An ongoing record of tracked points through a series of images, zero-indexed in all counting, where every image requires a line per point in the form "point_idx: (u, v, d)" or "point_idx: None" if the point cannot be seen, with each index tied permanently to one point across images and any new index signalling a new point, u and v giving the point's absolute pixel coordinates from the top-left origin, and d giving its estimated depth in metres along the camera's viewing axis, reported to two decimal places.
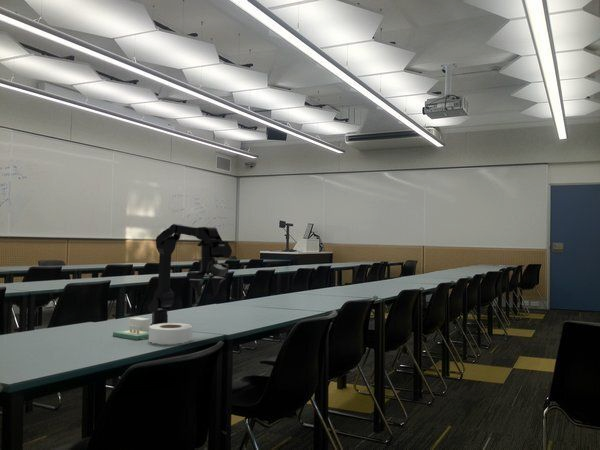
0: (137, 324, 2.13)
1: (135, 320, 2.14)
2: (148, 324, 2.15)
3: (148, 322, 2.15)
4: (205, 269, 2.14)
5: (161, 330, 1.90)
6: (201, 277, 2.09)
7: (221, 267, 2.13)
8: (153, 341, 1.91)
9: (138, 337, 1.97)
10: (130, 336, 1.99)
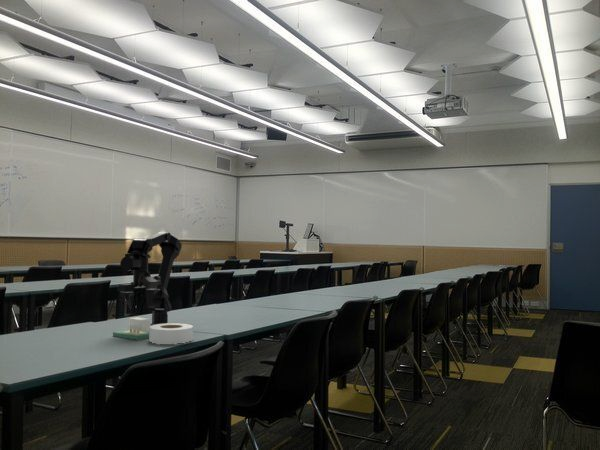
0: (137, 324, 2.13)
1: (135, 320, 2.14)
2: (148, 324, 2.15)
3: (148, 322, 2.15)
4: (137, 281, 2.14)
5: (162, 330, 1.89)
6: (131, 289, 2.09)
7: (153, 279, 2.13)
8: (154, 341, 1.90)
9: (138, 337, 1.97)
10: (130, 336, 1.99)
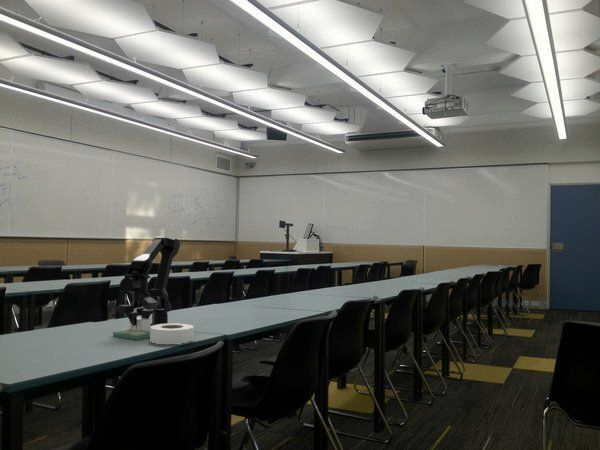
0: (137, 324, 2.13)
1: None
2: (148, 324, 2.15)
3: (148, 322, 2.15)
4: (136, 302, 2.14)
5: (162, 330, 1.89)
6: (131, 311, 2.09)
7: (152, 300, 2.13)
8: (154, 341, 1.90)
9: (138, 337, 1.97)
10: (130, 336, 1.99)
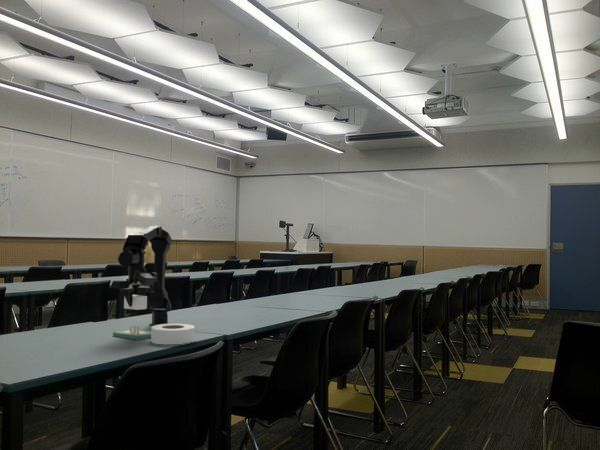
0: (133, 301, 2.03)
1: None
2: (144, 301, 2.05)
3: (144, 299, 2.05)
4: (132, 278, 2.04)
5: (163, 331, 1.88)
6: (126, 286, 1.99)
7: (149, 276, 2.03)
8: (155, 342, 1.89)
9: (138, 337, 1.97)
10: (130, 336, 1.99)
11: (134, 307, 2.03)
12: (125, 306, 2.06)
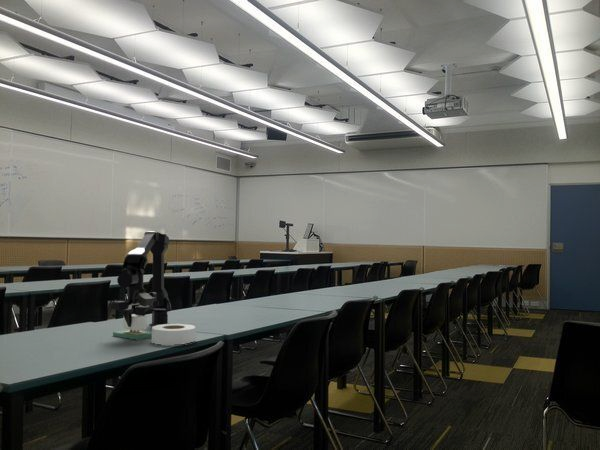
0: (132, 321, 2.02)
1: None
2: (144, 321, 2.03)
3: (144, 319, 2.03)
4: (131, 298, 2.02)
5: (164, 331, 1.88)
6: (125, 307, 1.97)
7: (148, 296, 2.01)
8: (156, 342, 1.89)
9: (138, 337, 1.97)
10: (130, 336, 1.99)
11: (133, 328, 2.01)
12: (124, 326, 2.04)
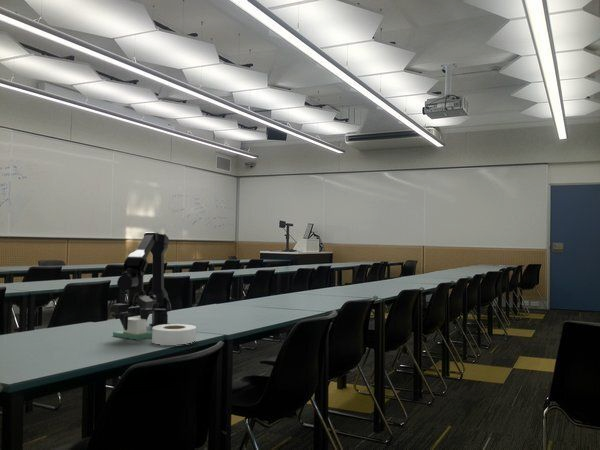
0: (132, 325, 2.02)
1: (130, 321, 2.02)
2: (144, 325, 2.03)
3: (144, 323, 2.03)
4: (131, 301, 2.02)
5: (165, 331, 1.88)
6: (125, 310, 1.97)
7: (148, 299, 2.01)
8: (157, 342, 1.89)
9: (138, 337, 1.97)
10: (130, 336, 1.99)
11: (133, 331, 2.01)
12: (124, 330, 2.04)
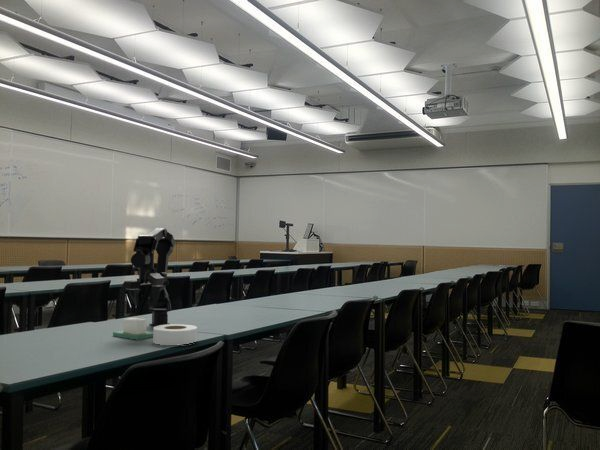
0: (132, 325, 2.02)
1: (130, 321, 2.02)
2: (144, 325, 2.03)
3: (144, 323, 2.03)
4: (142, 278, 2.10)
5: (166, 331, 1.87)
6: (137, 286, 2.05)
7: (159, 276, 2.09)
8: (158, 342, 1.88)
9: (138, 337, 1.97)
10: (130, 336, 1.99)
11: (133, 331, 2.01)
12: (124, 330, 2.04)
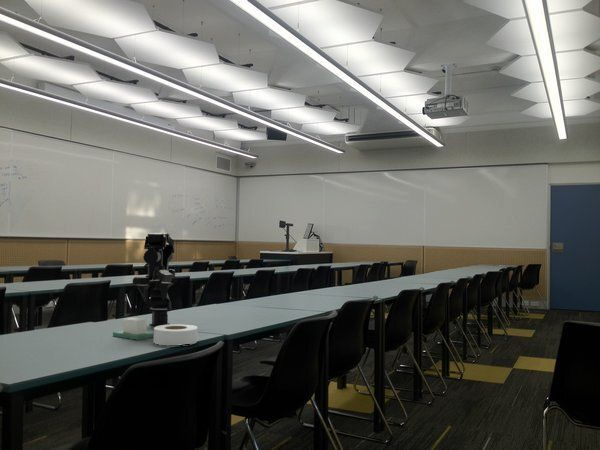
0: (132, 325, 2.02)
1: (130, 321, 2.02)
2: (144, 325, 2.03)
3: (144, 323, 2.03)
4: (151, 274, 2.16)
5: (166, 331, 1.87)
6: (146, 282, 2.12)
7: (167, 272, 2.16)
8: (158, 343, 1.88)
9: (138, 337, 1.97)
10: (130, 336, 1.99)
11: (133, 331, 2.01)
12: (124, 330, 2.04)
